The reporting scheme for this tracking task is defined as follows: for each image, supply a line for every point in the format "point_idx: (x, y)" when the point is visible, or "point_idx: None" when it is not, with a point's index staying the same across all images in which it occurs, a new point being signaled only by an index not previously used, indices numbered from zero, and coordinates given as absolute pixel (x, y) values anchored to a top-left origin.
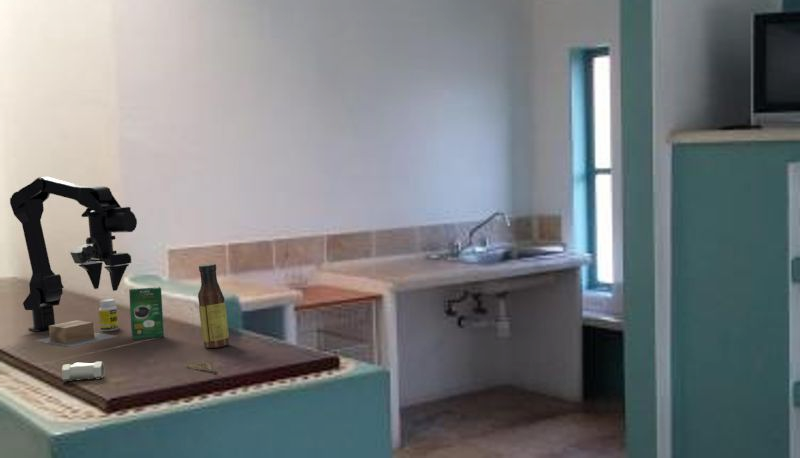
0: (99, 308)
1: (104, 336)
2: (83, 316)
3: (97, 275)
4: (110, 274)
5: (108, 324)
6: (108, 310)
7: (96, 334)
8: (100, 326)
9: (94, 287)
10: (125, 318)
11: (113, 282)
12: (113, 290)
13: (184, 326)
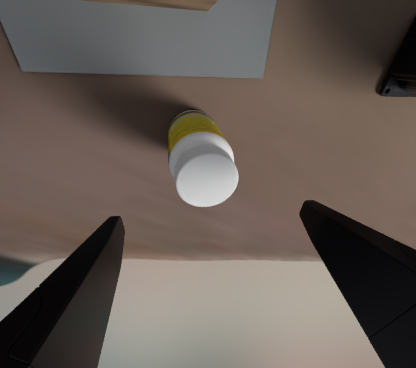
0: (220, 141)
1: (64, 37)
2: (390, 196)
3: (352, 281)
4: (21, 342)
5: (172, 127)
6: (171, 150)
7: (142, 53)
8: (203, 115)
9: (311, 203)
10: (281, 222)
11: (67, 262)
12: (112, 216)
13: (56, 240)
